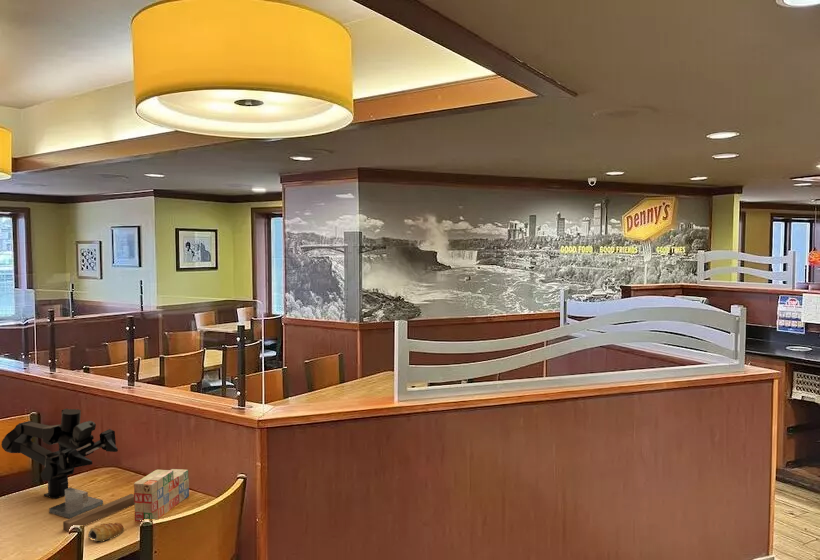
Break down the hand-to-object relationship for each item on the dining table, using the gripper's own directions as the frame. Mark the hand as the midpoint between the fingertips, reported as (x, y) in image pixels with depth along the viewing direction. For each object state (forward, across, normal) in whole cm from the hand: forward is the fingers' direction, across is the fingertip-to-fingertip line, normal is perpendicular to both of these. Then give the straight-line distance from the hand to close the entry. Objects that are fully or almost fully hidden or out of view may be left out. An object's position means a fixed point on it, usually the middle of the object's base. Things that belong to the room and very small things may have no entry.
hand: (104, 456), depth 203 cm
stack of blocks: (+19, +6, +16) cm, 26 cm away
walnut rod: (+7, -7, +16) cm, 19 cm away
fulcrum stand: (-6, -8, +17) cm, 20 cm away
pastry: (+20, -16, +12) cm, 28 cm away
